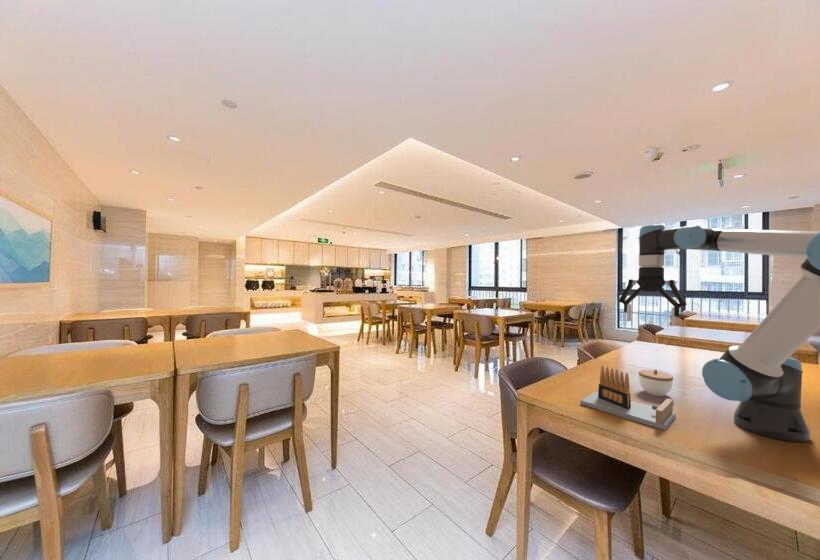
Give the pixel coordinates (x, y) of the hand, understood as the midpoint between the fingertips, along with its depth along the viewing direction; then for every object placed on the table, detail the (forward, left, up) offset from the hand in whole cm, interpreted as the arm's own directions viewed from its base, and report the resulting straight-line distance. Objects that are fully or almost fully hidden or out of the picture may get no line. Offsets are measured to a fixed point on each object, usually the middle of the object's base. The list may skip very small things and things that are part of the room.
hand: (650, 323), depth 118 cm
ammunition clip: (+6, +19, -27) cm, 34 cm away
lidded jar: (0, -9, -29) cm, 30 cm away
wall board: (+2, +19, -29) cm, 34 cm away
